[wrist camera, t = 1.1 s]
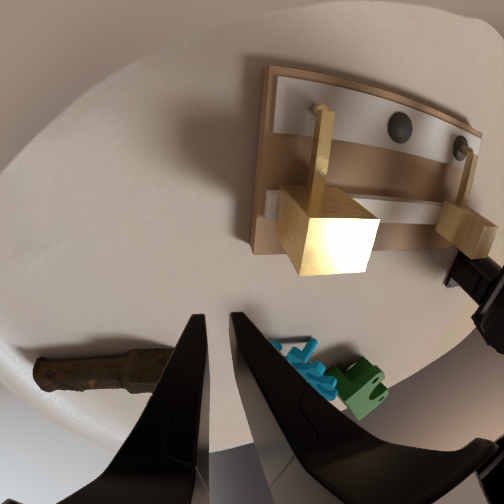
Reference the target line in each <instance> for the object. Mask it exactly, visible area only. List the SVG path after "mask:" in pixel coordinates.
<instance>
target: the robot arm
mask: <svg viewBox="0 0 504 504" xmlns="http://www.w3.org/2000/svg"><path fill="white" fill-rule="evenodd" d="M445 286H446V287H447V288H451V287H455V286H460V287H461V288H462V289H463V290H464V291H465V292H466V293H467V294H468V295H469V296H470V297H471V298H472V299H473V300H474V301H475V302H476V303H477V304H478V305H479V307H478V309H477V310H476V312H475V313H474V314H473V315H472V317H471V318H472V320H473V321H474V324H475V325H476V327H477V329H478V330H479V332H480V333H481V335H482V336H483V338H484V340H485V342H486V344H487V345H488V346H492V347H493V348H494V349H496V351H497V352H498V353H501V354H504V266H503V268H502V267H501V266H499V265H498V264H497V263H496V262H495V261H494V260H492V259H491V258H490V257H489V256H487V258H479V259H470V258H469V257H468V256H466V255H465V254H464V253H463V252H462V251H460V252H459V254H458V257H457V259H456V262H455V264H454V266H453V269H452V271H451V273H450V275H449V278H448V280H447V282H446V284H445ZM229 337H230V345H231V353H232V360H233V368H234V374H235V379H236V383H237V387H238V390H239V394H240V397H241V400H242V404H243V407H244V411H245V414H246V417H247V421H248V424H249V427H250V430H251V434H252V437H253V440H254V443H255V446H256V449H257V452H258V455H259V458H260V461H261V464H262V467H263V470H264V473H265V476H266V479H267V482H268V485H269V487H270V491H271V494H272V496H273V499H274V502H275V504H504V434H503V435H502V436H500V437H499V438H498V439H497V440H495V441H494V442H492V441H490V440H487V439H482V438H475V439H474V440H472V441H471V442H469V443H468V444H467V445H465V446H464V447H463V448H462V449H460V450H457V451H437V450H429V449H422V448H416V447H410V446H404V445H399V444H394V443H389V442H387V441H384V440H381V439H379V438H377V437H375V436H374V435H372V434H371V433H369V432H368V431H366V430H365V429H364V428H362V427H361V426H359V425H358V424H357V423H355V422H354V421H353V420H351V419H350V418H349V417H347V416H346V415H345V414H343V413H342V412H341V411H340V410H338V409H337V408H336V407H335V406H333V405H332V404H331V403H330V402H329V401H327V400H326V399H325V398H324V397H323V396H322V395H321V394H320V393H319V392H318V391H317V390H316V389H315V388H314V387H313V386H312V385H311V384H310V383H309V382H307V380H306V379H305V378H304V377H303V376H302V375H301V374H300V373H299V372H298V371H297V370H296V369H295V368H294V367H293V366H292V365H291V364H290V362H289V361H288V360H287V359H286V358H285V357H284V356H283V355H282V354H281V353H280V352H279V351H278V350H277V349H276V348H275V347H274V345H273V344H272V343H271V342H270V341H269V340H268V339H267V338H266V337H265V336H264V335H263V334H262V332H261V331H260V330H259V329H258V328H257V327H256V326H255V325H254V324H253V323H252V321H251V320H250V319H249V318H248V317H247V316H246V315H245V314H244V313H243V312H231V313H230V316H229ZM306 382H307V383H306ZM152 395H153V396H151V397H150V399H149V401H148V403H147V405H146V407H145V409H144V411H143V412H142V414H141V416H140V418H139V420H138V422H137V423H136V425H135V426H134V428H133V430H132V431H131V433H130V434H129V436H128V437H127V439H126V440H125V442H124V443H123V445H122V446H121V448H120V449H119V451H118V452H117V454H116V455H115V457H114V458H113V460H112V461H111V463H110V464H109V466H108V467H107V468H106V469H105V471H104V472H103V473H102V474H101V475H100V476H99V477H97V478H96V479H95V480H94V481H92V482H91V483H89V484H87V485H86V486H84V487H83V488H81V489H80V490H78V491H76V492H75V493H73V494H72V495H70V496H68V497H67V498H65V499H63V500H62V501H60V502H58V503H56V504H209V406H210V371H209V357H208V342H207V331H206V320H205V315H204V314H193V315H191V317H190V319H189V321H188V323H187V325H186V327H185V329H184V331H183V333H182V334H181V336H180V338H179V340H178V342H177V344H176V346H175V348H174V350H173V352H172V354H171V356H170V358H169V360H168V362H167V364H166V366H165V368H164V370H163V372H162V374H161V376H160V378H159V380H158V382H157V385H156V387H155V389H154V391H153V393H152ZM2 504H22V503H20V502H17V501H15V500H12V499H7V500H6V501H4V502H3V503H2Z"/></svg>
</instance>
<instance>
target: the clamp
mask: <svg viewBox="0 0 504 504" xmlns="http://www.w3.org/2000/svg"><path fill="white" fill-rule="evenodd" d="M324 376H332V377H335V378H336V380H337V383H336V385H335V387H334V389H336V390H337V391H338V394H337V396H338V397H339V398H340V399H341V401H342V402H343V403H344V404H345V405H346V406H347V408H348V409H349V410H350V411H351V412H352V413H353V415H354V416H355V417H356V418H357V419H358V420H359V421H360V420H361V419H362V418H363V417H365V416H366V415H367V414H368V413H369V412H371V411H372V410H373V409H374V408H375V407H377V406H378V405H379V404H380V403H381V402H382V401H383V400H384V399H385V398H386V397H387V395H388V389H387V388H386V387H385V386H384V385H383V384H382V383H381V381H382V380H383V379H385V376H384V372H383V371H382V370H380V369H379V368H378V367H377V366H376V365H374V366H373V365H372V364H371V363H370V362H369V361H368V360H367V359H366V358H364V357H363V358H362V359H360V360H359V361H358V362H357V363H356V364H355V365H353V366H352V367H351V368H350V369H349V370H348V371H346V372H345V373H344V374H343V373H342V372H341V371H340V370H339V369H338V368H337V367H336V366H334V367H333V368H332V369H330V370H329V371H328V372H327V373H325V374H324Z"/></svg>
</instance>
